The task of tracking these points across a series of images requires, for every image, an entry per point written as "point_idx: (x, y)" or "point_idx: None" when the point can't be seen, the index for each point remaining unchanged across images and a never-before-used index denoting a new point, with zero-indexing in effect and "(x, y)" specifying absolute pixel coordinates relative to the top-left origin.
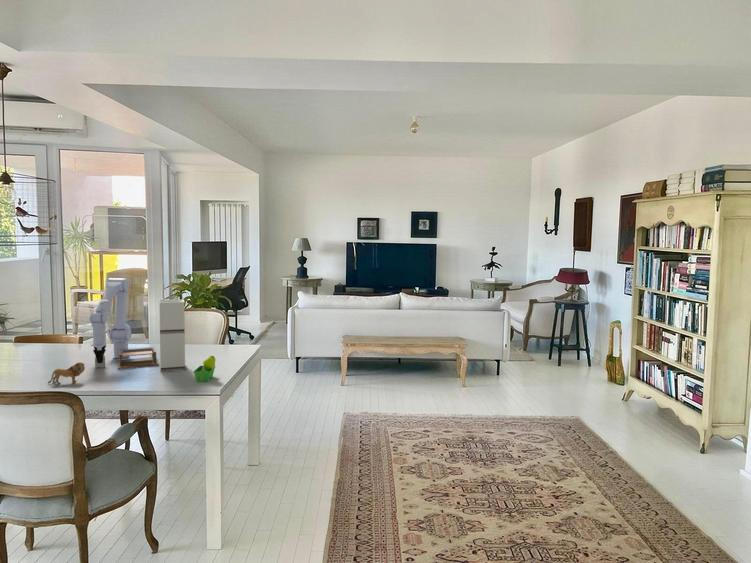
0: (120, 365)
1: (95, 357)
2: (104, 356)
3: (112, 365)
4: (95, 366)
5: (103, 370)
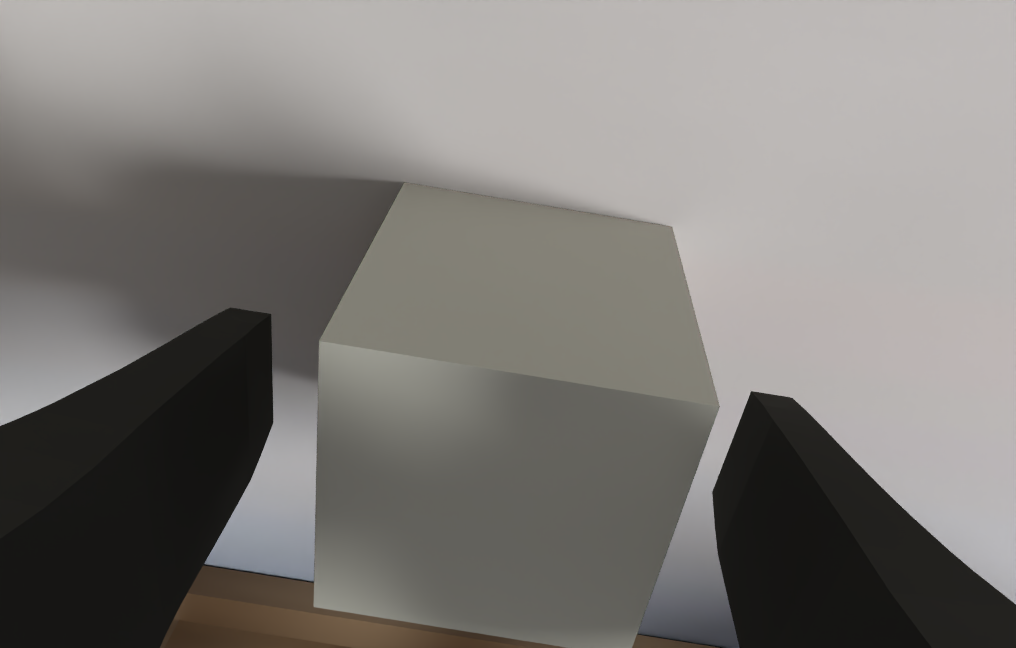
0: (174, 637)
1: (498, 386)
2: (497, 626)
3: None
4: (391, 209)
5: (20, 309)
